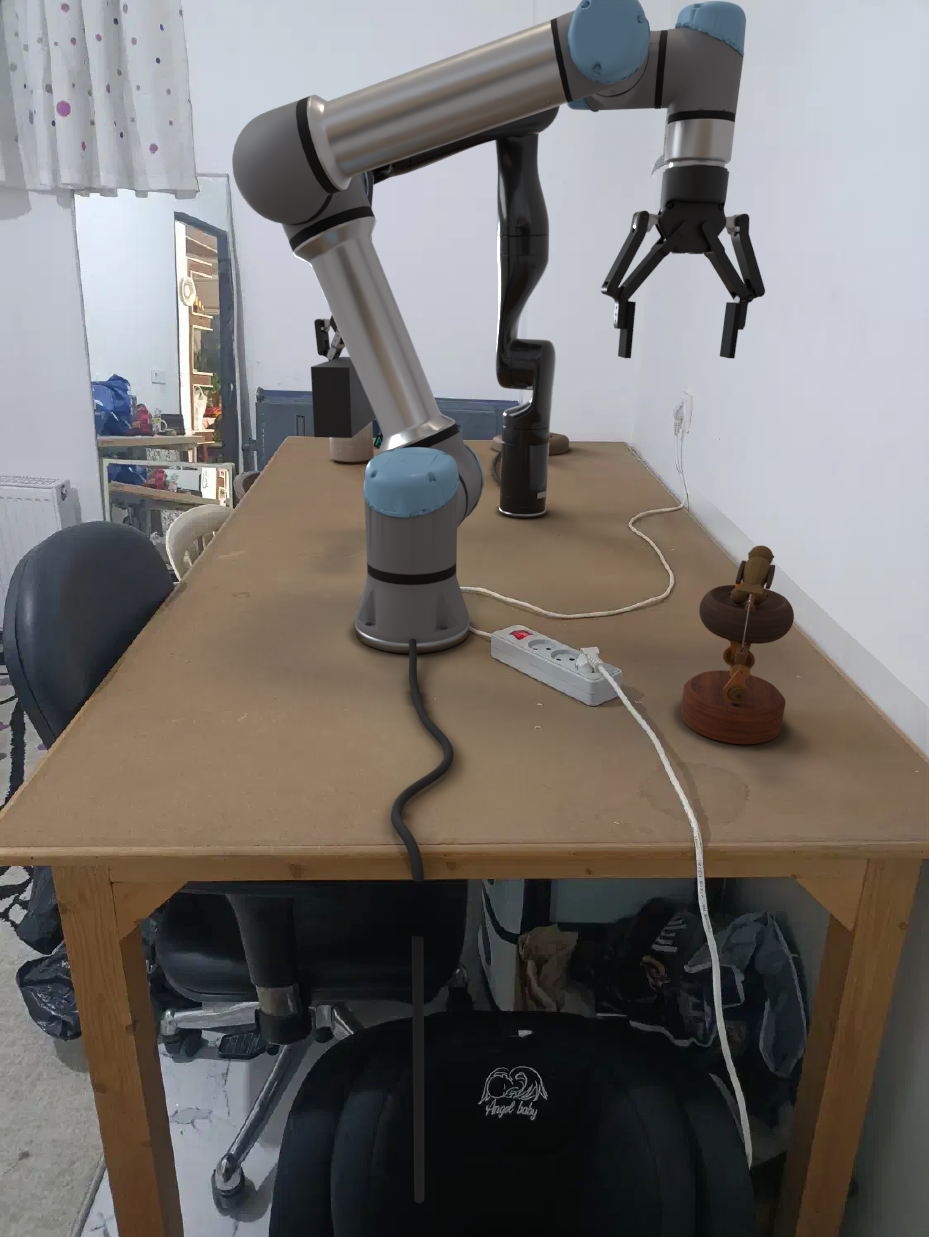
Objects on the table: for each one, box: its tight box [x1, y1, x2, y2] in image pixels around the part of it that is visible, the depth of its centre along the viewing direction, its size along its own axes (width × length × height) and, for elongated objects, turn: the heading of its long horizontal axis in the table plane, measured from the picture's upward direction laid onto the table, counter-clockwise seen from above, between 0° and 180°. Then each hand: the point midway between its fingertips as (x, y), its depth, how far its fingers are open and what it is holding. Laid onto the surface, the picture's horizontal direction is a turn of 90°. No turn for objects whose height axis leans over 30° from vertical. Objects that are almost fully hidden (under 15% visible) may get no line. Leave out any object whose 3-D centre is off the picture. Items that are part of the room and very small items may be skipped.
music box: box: [680, 545, 795, 745], centre depth 89 cm, size 15×11×20 cm
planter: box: [329, 421, 375, 464], centre depth 212 cm, size 11×11×10 cm
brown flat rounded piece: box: [491, 431, 570, 456], centre depth 224 cm, size 21×28×4 cm
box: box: [310, 356, 376, 439], centre depth 139 cm, size 23×6×10 cm, turn 177°
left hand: (676, 357), depth 106 cm, fingers open, 13 cm apart
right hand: (355, 383), depth 147 cm, fingers closed on box, 6 cm apart
